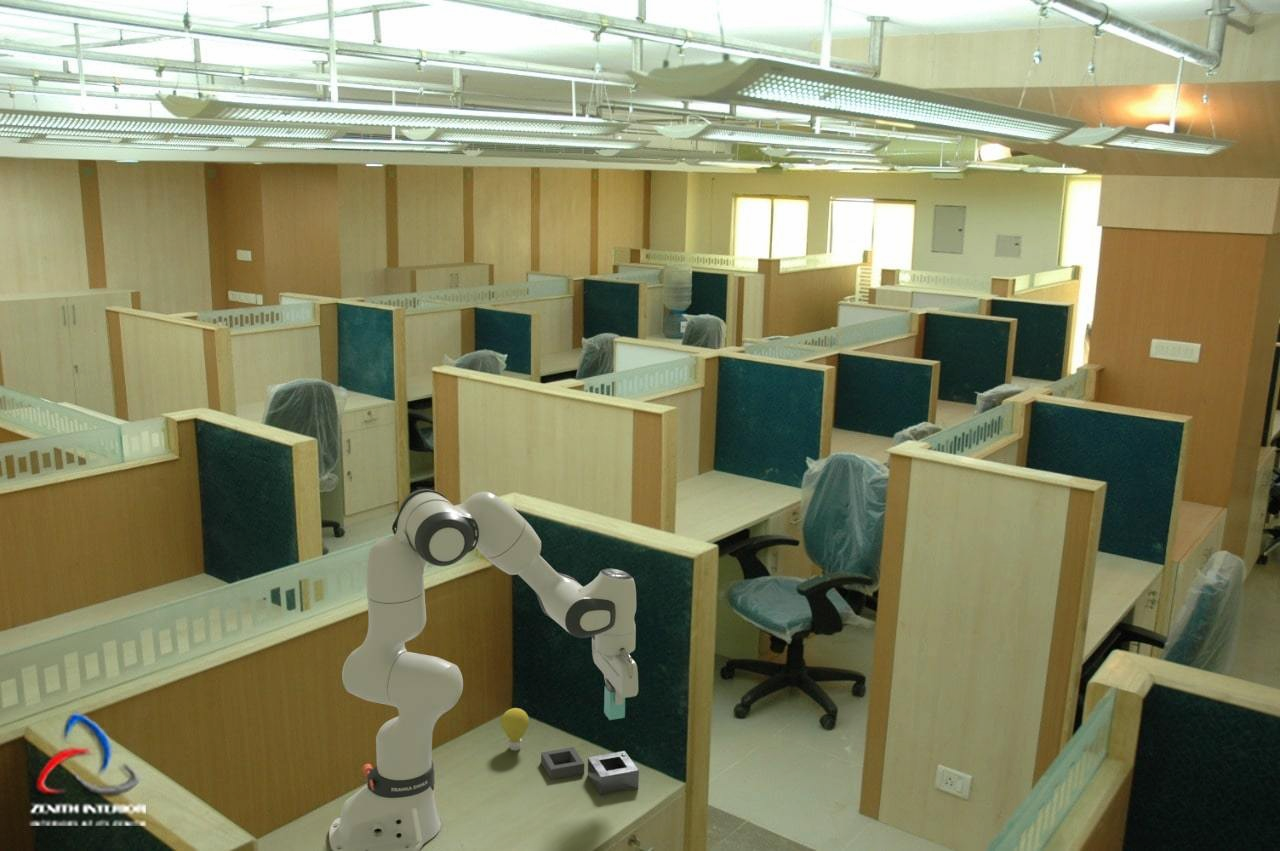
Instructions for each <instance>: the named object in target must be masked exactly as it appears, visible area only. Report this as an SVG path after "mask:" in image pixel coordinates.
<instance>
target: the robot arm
mask: <svg viewBox="0 0 1280 851" xmlns="http://www.w3.org/2000/svg"><path fill="white" fill-rule="evenodd" d="M391 529H392V534H393V536H388V537H383V538H382V539H379V540H378V541H376V542H375V543H374V544H373V545H372V546H371V548H370V550H369V552H368V559H367V568H366V596H367V606H368V607H367V610H368V611H367V612H368V613H367V614H368V628H367V633H366V637H365V639H364V641H363V642H362V644H361V645H360V646H358V647H356V649H354V650H352V651H351V653H350V654H349V655H348V656H347V658H346V659H345V661H344V664H343V666H342V669H341V670H342V674H341V678H342V679H341V680H342V683H343V686H344V689H345V690H346V692H348V694H352V695H354V696H356V697H357V698H359V699H362V700H364V701H365V702H366V701H367V702H372V703H376V704H377V703H378V704H382V705H385V706H386V705H387V706H392V707H394V708H396V709H397V711H398V716H395V717H393V718H391V719H389V720H387V721H386V722H384V724H382V726H380V728H379V730H378V731H377V734H376V738H375V745H376V746H375V748H376V750H375V752H376V753H375V754H376V765H375V766H374V768H373V765H371V763H364V765H363V766H362V768H361V769H362V774H363V775H364V776H365V777H366V785H364V786H363V787H362V788H361V789H360V788H359V790H358V791H357V792H355V793H354V794H352V795H351V796H350V797H349V798H347V800H346V801H345V802H344V804H343V805H342V808H341V813H340V817H337V818H336V819H334V820H333V822H332V823H331V825H330V826H329V831H328V832H329V833H328V842H329V846H330V848H331V851H420V849H421V848H422V847H423V845H424V844H426V843H427V842H429V841H430V840H431V839H433V838H434V837H435V836H437V834H438V833H439V831H440V830H441V826H442V824H441V820H440V819H441V818H440V816H439V814H438V810H437V806H436V801H435V793H434V790H435V784H436V783H435V782H436V780H435V779H436V778H435V776H436V774H435V766H434V765H435V764H434V763H433V762H434V761H433V759H432V758H433V757H432V755H433V754H432V752H433V750H432V746H433V733H434V729H435V726H436V723H437V721H438V720H439V719H440V718H441V716H442V715H444V714H445V713H447V712H448V711H450V710H452V708H454V707H455V706H456V704H457V703H458V702H459V699H460V698H461V695H462V693H463V688H464V680H463V675H462V672H461V670H460V668H459V667H458V665H457V664H455V663H453V662H450V661H447V660H445V659H443V658H441V657H438V656H434V655H427V654H424V653H422V654H421V653H417V652H412V651H411V652H410V651H408V649H407V648H406V644H405V643H406V642H409V641H410V640H411V641H412V640H413V639H415V638H416V637H418V636H419V635H420V634H421V633H422V632H423V630H424V629H425V626H426V624H427V608H426V595H425V594H426V592H425V590H426V589H425V580H424V579H425V578H424V570H425V566H426V563H429V564H431V565H433V566H436V567H437V566H438V567H447V566H451V565H453V564H456V563H458V562H459V561H460V560H462V559H463V558H464V557H465V556H466V555H468V554H469V553H470V552H472V551H474V550H475V549H476V550H478V551H479V552H480V553H481V555H483V557H484V558H486V560H488V561H489V562H490V563H491V564H492V565H494V566H495V567H496V568H498V569H499V570H501V571H502V572H504V573H506V574H508V575H510V576H511V575H512V576H514V575H518V576H519V577H520V578H521V579H522V580H523V581H524V582H525V583H526V584H527V585H528V586H529V587H530V588H531V589H532V590H533V591H534V593H535V594H536V596H537V601H538V604H539V605H540V609H541V610H542V612H543V613H544V614H545V615H546V616H548V618H550V619H552V620H553V621H555V622H556V623H557V624H558V625H559V626H560V627H562V628H563V629H564V630H565V631H566V632H567V633H569V635H572V636H573V637H575V638H579V639H586V638H590V637H591V650H592V652H591V654H592V660H593V663H594V664H595V665H596V667H597V668H598V669H599V670H600V671H601V673H602V674H603V678H604V682H605V684H606V680H609V681H610V683H611V684H612V685H613V686H614V688H615V691H616V693H615V695H614V702H615V704H616V705H620V704H623V698H625V699H626V698H633V697H636V696H637V695H638V693H639V673H638V665H637V663H636V661H635V660H634V659H633V657H632V656H631V655H630V654H631V653H633V652H634V651H635V650H636V642H637V640H636V635H637V633H636V632H637V630H636V629H637V628H636V621H635V615H636V612H637V589H636V583H635V580H634V579H635V578H634V577H632V575H630V573H628V572H626V571H624V570H620V569H617V568H605V569H601V570H600V571H599V573H598V575H597V576H596V577H595V578H594V579H593V580H592V581H591V582H589V583H588V584H586V585H584V586H583V585H581V583H580V582H579V581H578V580H576V579H575V578H574V577H572V576H570V575H568V574H564V573H561V572H558V571H556V570H555V569H554V568H553V566H551V564H549V563H548V562H547V561H546V560H545V559H544V558H543V556H541V551H542V541H541V539H540V537H539V535H538V534H537V533H536V531H535V530H534V528H533V527H532V525H531V524H530V523H529V522H528V521H527V519H525V518H524V516H522V515H521V514H520V513H519V511H517V510H516V509H515V508H513V506H511V505H510V504H509V503H507V502H506V501H504V500H503V499H501V498H500V497H499V496H497V495H496V494H495V493H492V492H491V491H490V492H489V491H479V492H476V493H473V494H472V495H471V496H469V497H468V498H467V499H466V500H465V501H464V502H461V503H460V504H459V503H458V504H455V505H454V504H452V503H451V502H450V501H449V500H448V499H447V497H446V496H444V494H442V493H440V492H439V491H436V490H433V489H428V488H423V489H417V490H414V491H412V492H410V493H409V494H408V495H407V496H405V499H404V500H403V501H402V503H401V505H400V507H399V510H398V513H397V516H396V518H395V520H394V521H393V524H392V526H391Z"/></svg>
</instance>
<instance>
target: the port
mask: <svg viewBox="0 0 1280 851" xmlns="http://www.w3.org/2000/svg"><path fill="white" fill-rule="evenodd" d="M639 773H640V772H639V768H638V767H637V766H636V764H635V763H634V762H633V760H632V759H631V757H630V756H629V755H628V753H627V752H626V751H625V750H621V751H617V752H612V753H605V754H599V755H595V756H589V757H587V776H588V778H589V780H590V781H591V783H592V784H593V786H594V787H595V789H596V791H597V792H598V794H599V795H600V796H604V795H610V794H611V795H612V794H616V793H621V792H626V791H631V790H632V791H633V790H638V789H639V777H640V776H639Z"/></svg>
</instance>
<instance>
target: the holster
mask: <svg viewBox="0 0 1280 851" xmlns="http://www.w3.org/2000/svg"><path fill="white" fill-rule="evenodd" d="M568 760H569V762H568ZM557 762H559V763H562V764H558V763H557ZM564 762H566V763H564ZM567 762H568V763H567ZM556 763H557V764H556ZM540 764H541V765H542V767H543V766H544V767H543V769H544V770H545V773H548V774H547V776H548V777H549V779H550V780H555V779H554V778H557V779H562V778H565V777H572V775H573V776H579V775H582V774H583V775H584V774H585V762H584V760H583V759H582V758H581V756H580V754H579V753H578V752H577V750H576V748H575V747H574V746H572V747H566V748H560V749H553V750H548V751H542V752H541V753H540ZM555 764H556V765H555ZM559 777H560V778H559ZM561 777H562V778H561Z"/></svg>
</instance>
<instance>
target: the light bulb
mask: <svg viewBox="0 0 1280 851" xmlns="http://www.w3.org/2000/svg"><path fill="white" fill-rule="evenodd" d="M500 725H501V728H502V730H503V732H504V733H505V735H506V736H507V737H508V746H510V747H509V748H510V750H512V751H518V750H520V749H521V745H522V744H523V742H522V741H523V739H522V737H523V736H524V734H525V733H526V731H527V729H528V727H529V725H530V718H529V716H528V713H527V712H526V711H525V710H524V709H522V708H518V707H513V708H510V709H508V710H506V711H505V712H504V714H502V717H501V720H500Z"/></svg>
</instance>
